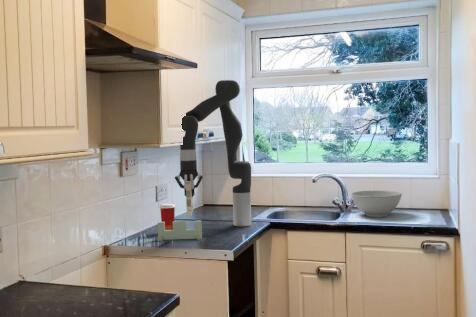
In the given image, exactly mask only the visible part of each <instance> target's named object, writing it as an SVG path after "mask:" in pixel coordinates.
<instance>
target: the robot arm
mask: <svg viewBox="0 0 476 317" xmlns="http://www.w3.org/2000/svg"><path fill="white" fill-rule="evenodd" d="M214 89H215V95H213V96H211V97H208V98H206V99H205V100H202V101H200V103H198V104H197V105H195V107H194V108H192V109H191V110H189V111H187V112H185V113H186V116H184V117H183V118H182V124H181V125H182V129H183V130H184V131H183V132H185V133H184V136H182V137H183V145H180V144H179V148H180V150H179V165H180V172H179V174H178V175H176V176H175V177H174V179H175V181H176V183H177V185H178V186H179V188H181V189H183V190H184V196H185V197H186V181H191V188H192V189H191V191H192V197H193V198H194V196H195V189H196V188H198V187H199V185H200V183H201V181H202V180H203V178H204V176H203V175H202V174H199V172H198V168H197V167H198V166H197V158H198V157H197V149H196V141H197V140H196V139H197V135H198V130H199V123H200V122H203V121H204V120H205V119H206V118H208V117H209V116H210V115H211V114H212V113H213V112H215V111H216V110H218V109H219V112H220V116H221V122H222V130H223V135H224V141H225V147H226V154H227V155H226V156H227V168H228V175H229V177H231V179H234V180H240V183H238V184H237V185H235V186H232V212H233V214H232V215H233V217H232V218H233V219H232V220H233V226H235V227H250V226H251V225H252V198H251V197H252V196H251V195H252V194H251V189H252V188H251V187H252V166H251V163H250V161H246V160H241V161H240V160H238V156H237V152H238V148H239V146H240V145H241V142H242V140H243V136H244V135H243V129H242V128H243V127H242V124H241V120H240V118H239V117H238V116H237V114H236V113H235V111H234V109H233V107H232V104H231V101H233V100H234V99H236V98H237V97H238V96H239V94H240V92H241V86H240V83H239V82H237V80H234V79H233V80H232V79H224V80H221V79H220V80H218V81H217V83H216V85H215V88H214ZM181 179H182V180H183V181H184V182H183V183H182V181H181ZM195 179H197V182H196V184H195Z"/></svg>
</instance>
